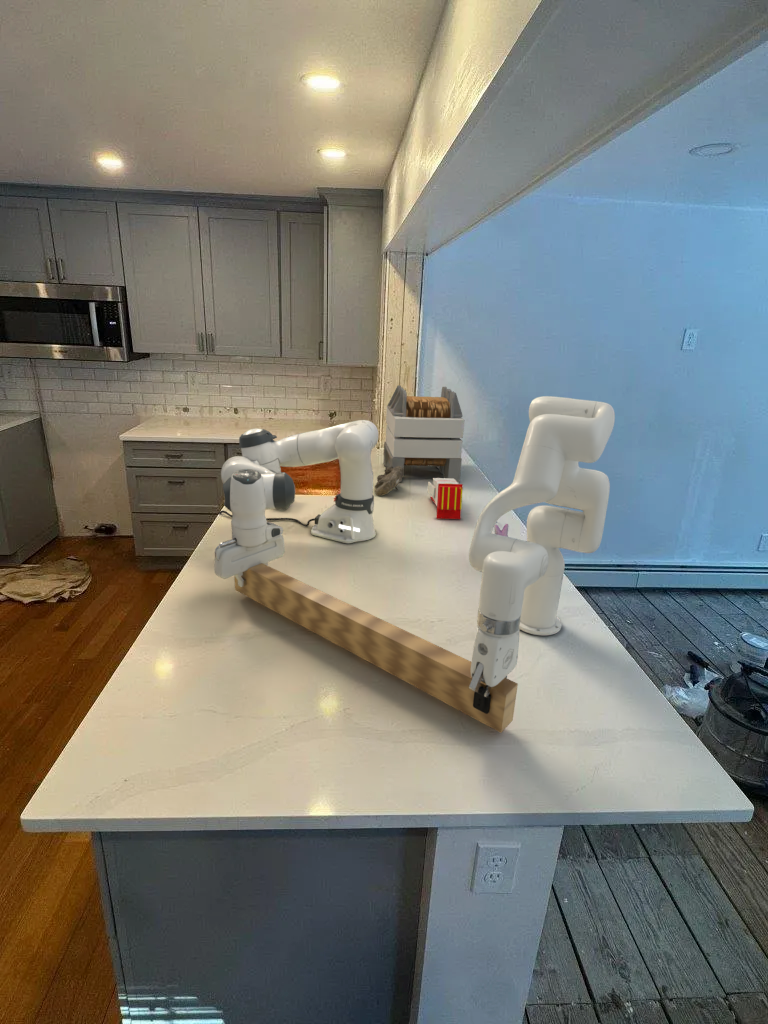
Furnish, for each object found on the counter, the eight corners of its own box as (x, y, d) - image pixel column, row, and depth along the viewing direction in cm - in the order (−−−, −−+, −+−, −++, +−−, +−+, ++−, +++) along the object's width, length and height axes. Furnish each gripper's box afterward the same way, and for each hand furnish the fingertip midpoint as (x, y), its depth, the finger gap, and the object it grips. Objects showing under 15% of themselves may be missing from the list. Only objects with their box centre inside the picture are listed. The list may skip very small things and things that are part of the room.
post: (235, 590, 152) (233, 561, 149) (248, 584, 155) (247, 556, 152) (501, 733, 105) (506, 695, 102) (512, 720, 108) (518, 683, 105)
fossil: (373, 472, 257) (399, 454, 252) (386, 488, 260) (412, 470, 255) (367, 491, 238) (396, 472, 233) (381, 508, 240) (410, 490, 235)
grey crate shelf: (382, 463, 289) (386, 382, 275) (445, 464, 293) (451, 384, 279) (390, 482, 257) (394, 392, 243) (460, 483, 261) (468, 394, 247)
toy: (455, 474, 240) (467, 485, 211) (453, 505, 243) (464, 520, 214) (426, 473, 240) (434, 484, 211) (425, 504, 243) (432, 519, 213)
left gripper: (222, 548, 136) (225, 599, 140) (287, 526, 150) (288, 573, 155) (207, 541, 139) (210, 591, 144) (272, 520, 154) (273, 566, 159)
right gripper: (493, 647, 93) (482, 736, 99) (538, 609, 105) (526, 690, 112) (454, 630, 97) (446, 716, 104) (502, 595, 110) (492, 674, 116)
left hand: (251, 581), depth 150 cm, fingers closed on post, 4 cm apart
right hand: (488, 702), depth 108 cm, fingers closed on post, 4 cm apart
